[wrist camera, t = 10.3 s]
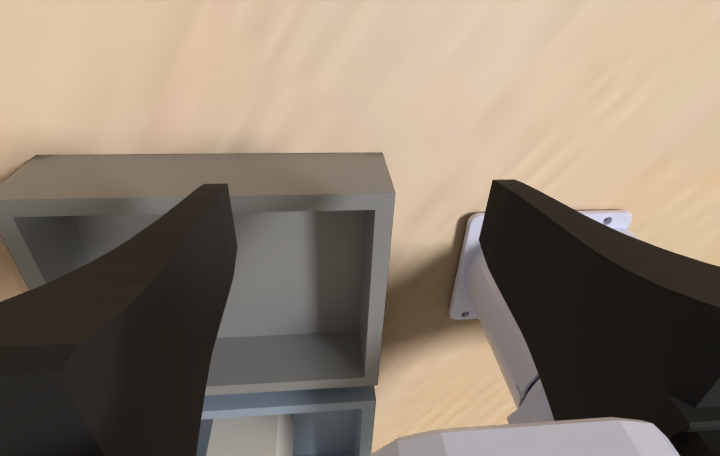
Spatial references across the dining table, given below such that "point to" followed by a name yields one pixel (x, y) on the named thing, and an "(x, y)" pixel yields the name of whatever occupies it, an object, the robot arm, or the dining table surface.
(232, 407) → the slate blue bin
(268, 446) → the cream block
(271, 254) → the grey bin
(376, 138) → the dining table surface
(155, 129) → the dining table surface
